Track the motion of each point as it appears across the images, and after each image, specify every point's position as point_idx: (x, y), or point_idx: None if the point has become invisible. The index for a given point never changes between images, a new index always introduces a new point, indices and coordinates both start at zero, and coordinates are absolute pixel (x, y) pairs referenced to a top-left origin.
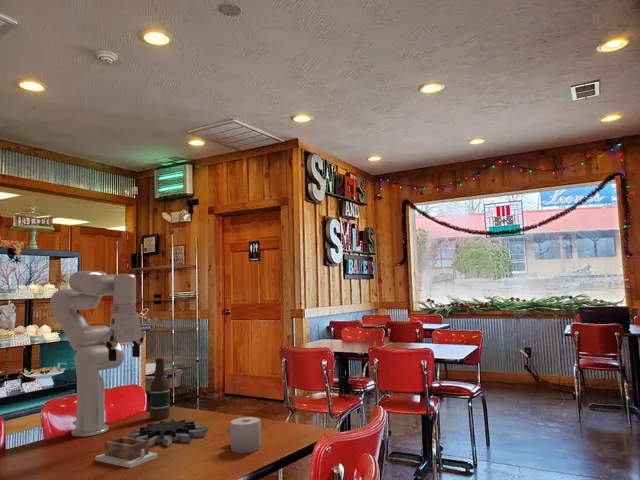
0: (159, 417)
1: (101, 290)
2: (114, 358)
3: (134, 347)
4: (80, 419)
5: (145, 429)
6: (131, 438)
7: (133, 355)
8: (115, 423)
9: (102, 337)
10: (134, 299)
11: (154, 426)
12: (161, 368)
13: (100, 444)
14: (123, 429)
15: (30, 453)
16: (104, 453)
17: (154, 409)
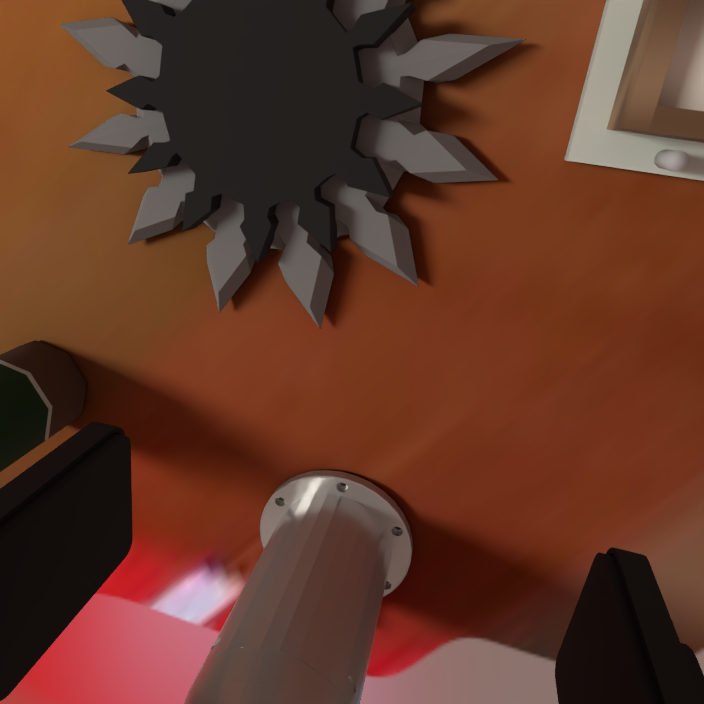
0: (67, 363)
1: None
2: (654, 589)
3: (12, 630)
4: (382, 594)
5: (355, 184)
6: (669, 15)
7: (119, 539)
8: (196, 517)
9: None
10: None
11: (289, 175)
12: None
13: (486, 362)
14: (256, 421)
15: (666, 573)
16: (697, 176)
17: (53, 402)
